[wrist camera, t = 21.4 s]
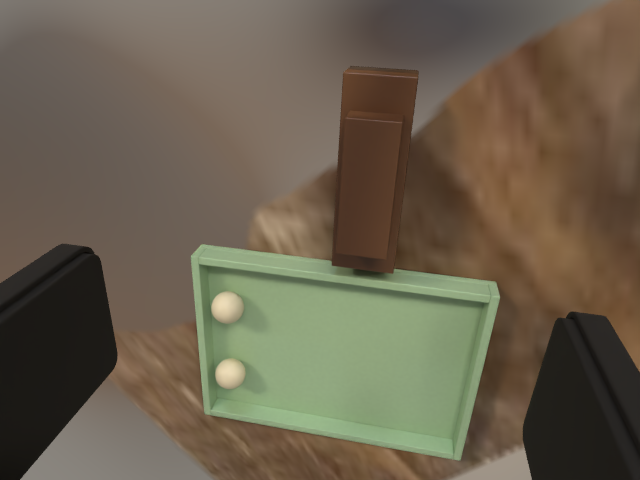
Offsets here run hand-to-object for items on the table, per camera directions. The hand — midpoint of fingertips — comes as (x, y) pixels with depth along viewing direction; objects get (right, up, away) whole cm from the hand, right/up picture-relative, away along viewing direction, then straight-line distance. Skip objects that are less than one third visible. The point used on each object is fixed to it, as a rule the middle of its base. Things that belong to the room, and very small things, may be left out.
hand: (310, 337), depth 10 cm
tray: (+1, -6, +28) cm, 29 cm away
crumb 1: (-7, -3, +26) cm, 27 cm away
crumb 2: (-7, -9, +29) cm, 31 cm away
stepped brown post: (+4, +7, +21) cm, 23 cm away
